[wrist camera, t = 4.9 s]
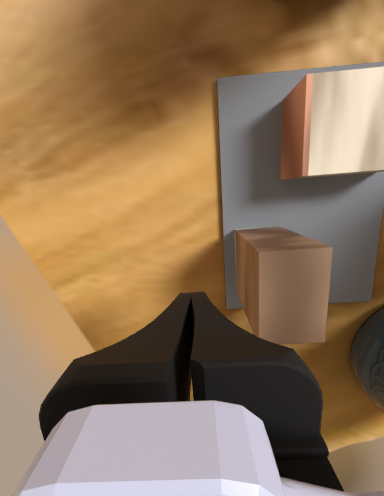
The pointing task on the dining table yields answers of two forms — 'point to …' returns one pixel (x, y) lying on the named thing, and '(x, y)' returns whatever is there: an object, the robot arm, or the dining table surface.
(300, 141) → the ash block
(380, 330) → the canister
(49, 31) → the dining table surface
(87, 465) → the robot arm
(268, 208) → the felt mat
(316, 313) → the walnut block
